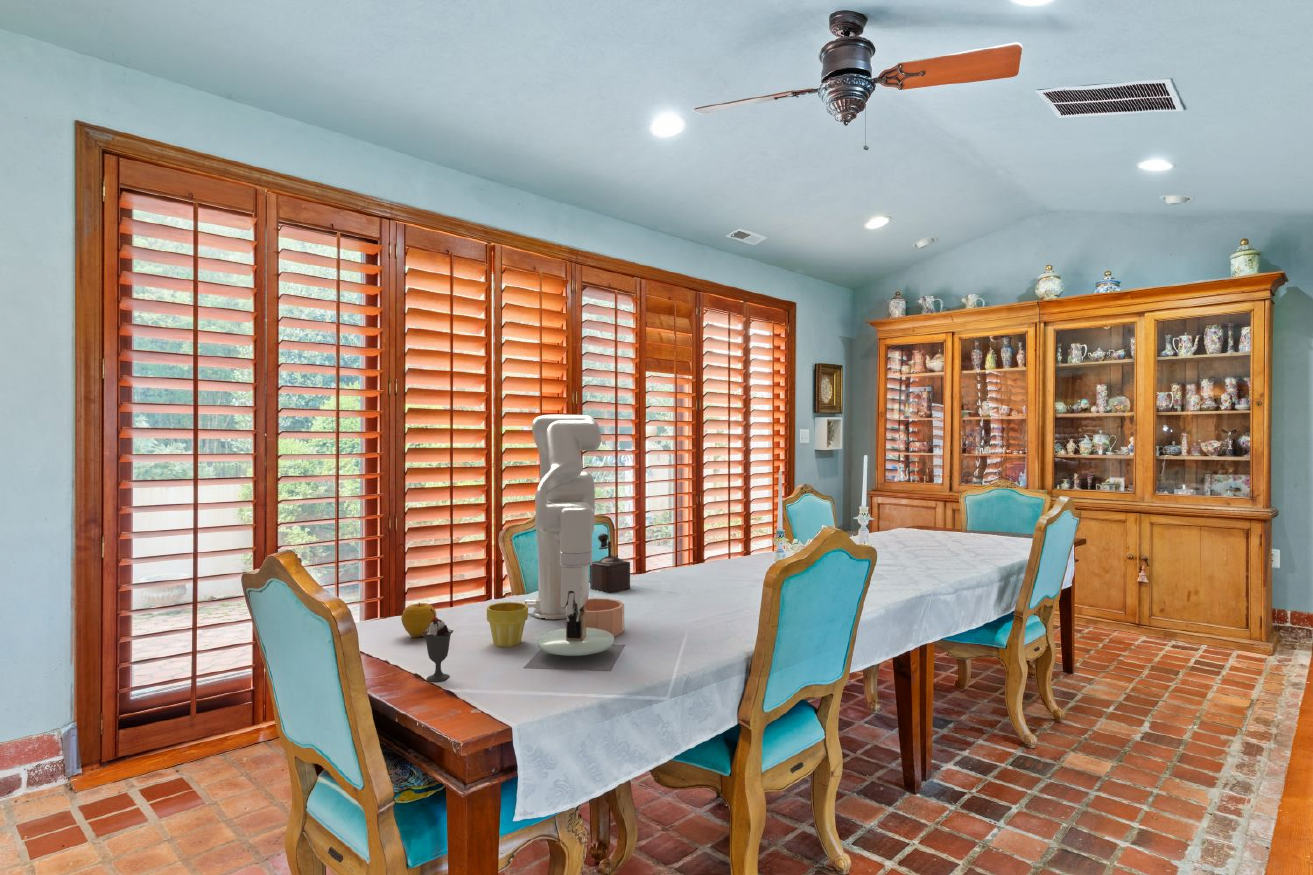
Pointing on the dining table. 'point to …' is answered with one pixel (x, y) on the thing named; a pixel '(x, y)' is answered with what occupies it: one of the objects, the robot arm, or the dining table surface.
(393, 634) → the dining table surface
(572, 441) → the robot arm
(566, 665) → the mat
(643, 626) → the dining table surface
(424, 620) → the apple
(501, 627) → the plant pot
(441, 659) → the sundae
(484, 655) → the dining table surface
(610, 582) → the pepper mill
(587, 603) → the bowl
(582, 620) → the lid
